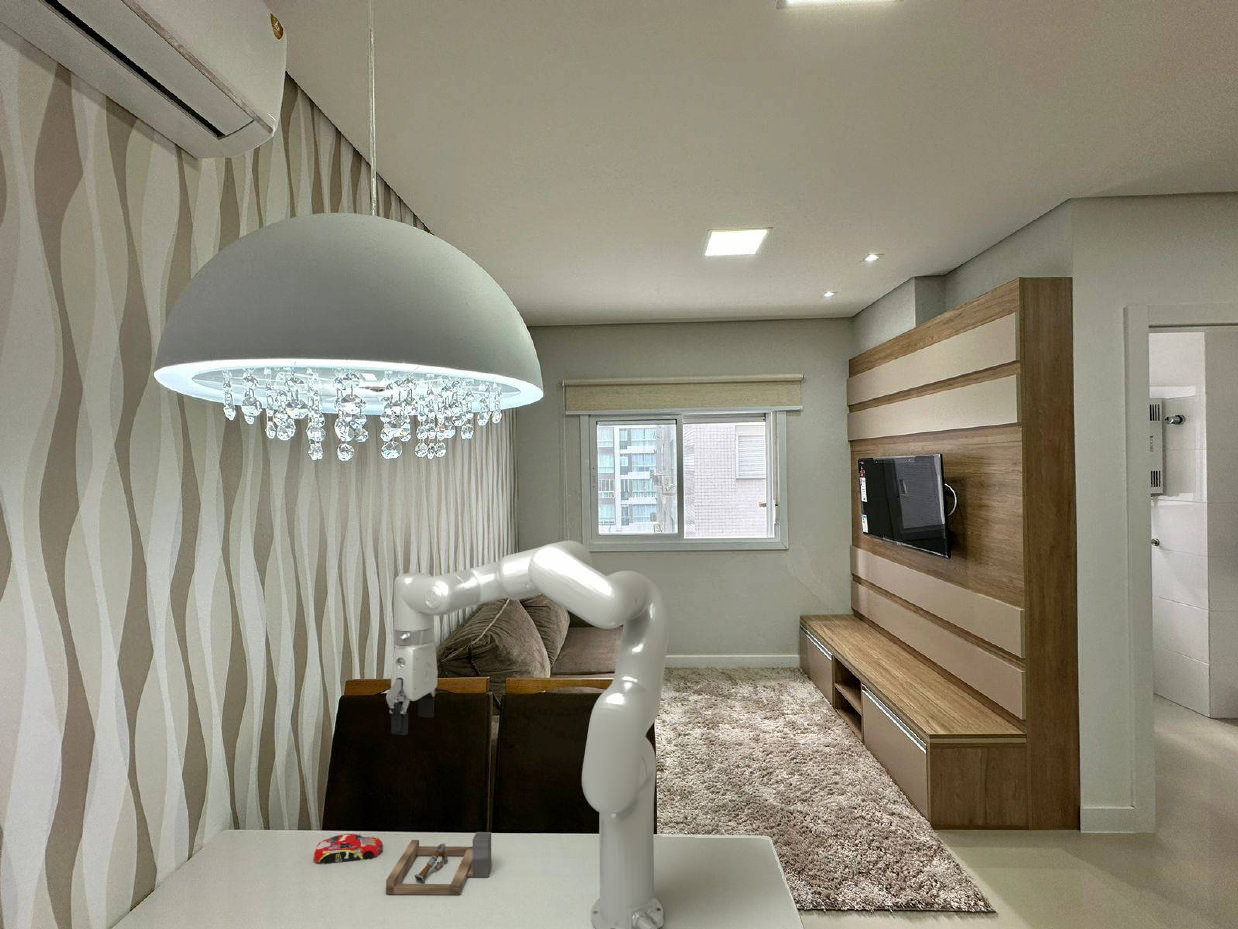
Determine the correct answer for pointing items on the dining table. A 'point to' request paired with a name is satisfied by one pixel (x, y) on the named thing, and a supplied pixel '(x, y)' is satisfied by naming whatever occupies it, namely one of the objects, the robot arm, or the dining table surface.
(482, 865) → the brown hollow square frame
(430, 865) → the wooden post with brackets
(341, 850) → the race car
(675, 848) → the dining table surface
